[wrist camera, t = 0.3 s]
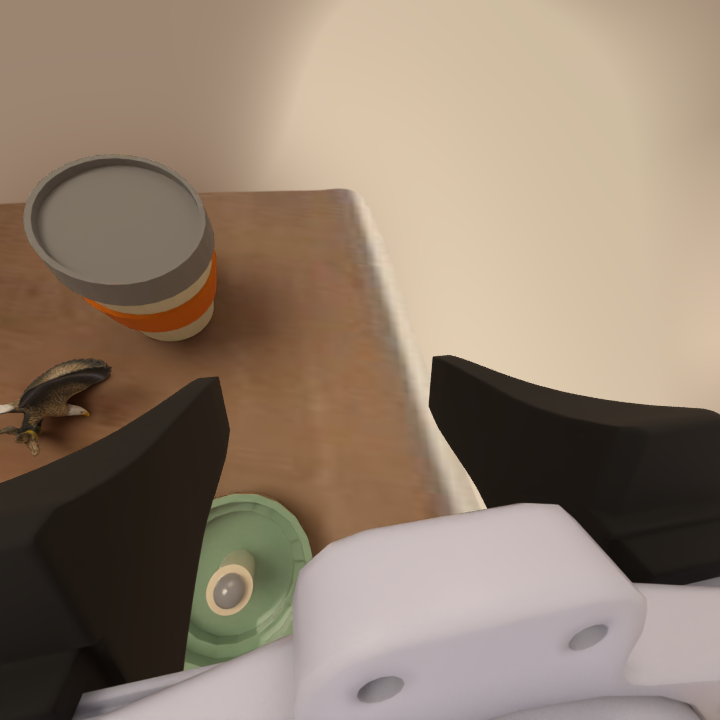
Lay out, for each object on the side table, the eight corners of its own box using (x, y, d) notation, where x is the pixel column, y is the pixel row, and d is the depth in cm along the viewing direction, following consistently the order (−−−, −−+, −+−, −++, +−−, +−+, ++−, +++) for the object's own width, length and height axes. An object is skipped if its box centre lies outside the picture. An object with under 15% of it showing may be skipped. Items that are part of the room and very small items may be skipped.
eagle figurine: (84, 462, 32) (137, 376, 34) (-14, 453, 26) (56, 348, 28) (50, 431, 35) (99, 355, 37) (-44, 416, 29) (20, 326, 31)
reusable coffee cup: (251, 297, 42) (241, 210, 29) (181, 377, 37) (129, 320, 24) (164, 241, 42) (112, 126, 28) (82, 315, 37) (-30, 221, 23)
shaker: (253, 589, 33) (248, 621, 25) (214, 591, 32) (198, 624, 25) (258, 548, 34) (254, 568, 27) (220, 549, 33) (206, 569, 26)
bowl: (303, 648, 32) (307, 670, 29) (142, 661, 29) (124, 687, 26) (313, 493, 37) (318, 495, 33) (175, 490, 34) (163, 492, 30)
